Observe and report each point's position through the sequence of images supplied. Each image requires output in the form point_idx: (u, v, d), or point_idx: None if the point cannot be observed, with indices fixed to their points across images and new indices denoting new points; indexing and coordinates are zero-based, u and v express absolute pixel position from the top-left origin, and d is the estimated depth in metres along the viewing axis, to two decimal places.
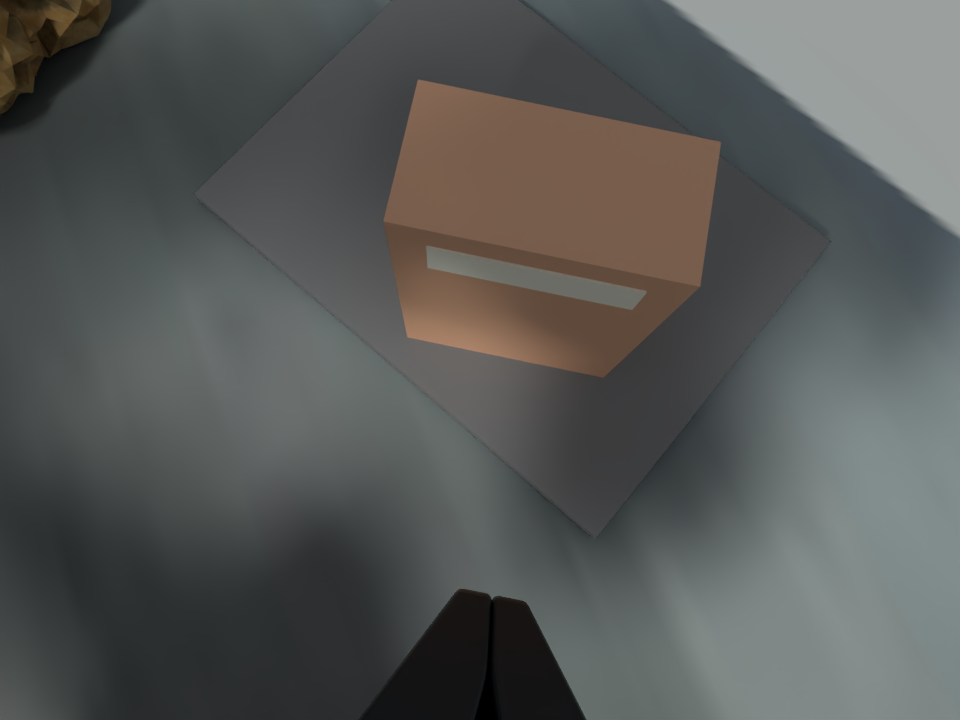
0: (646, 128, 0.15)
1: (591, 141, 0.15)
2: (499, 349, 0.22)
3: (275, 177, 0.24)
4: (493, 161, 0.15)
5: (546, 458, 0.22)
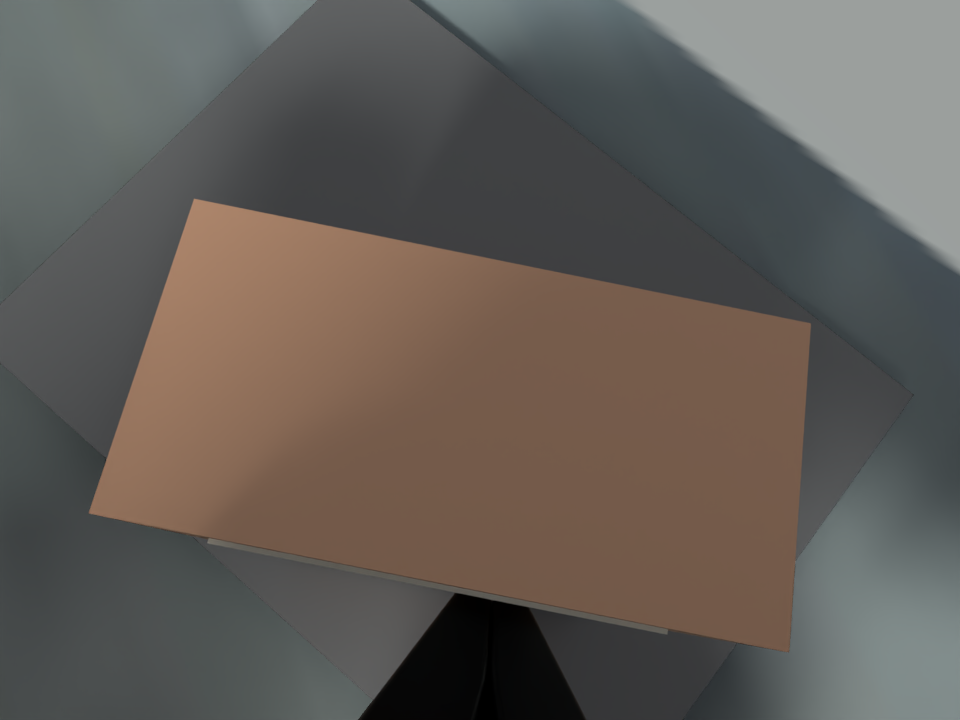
0: (659, 295, 0.07)
1: (548, 326, 0.07)
2: None
3: (94, 308, 0.16)
4: (342, 371, 0.07)
5: None
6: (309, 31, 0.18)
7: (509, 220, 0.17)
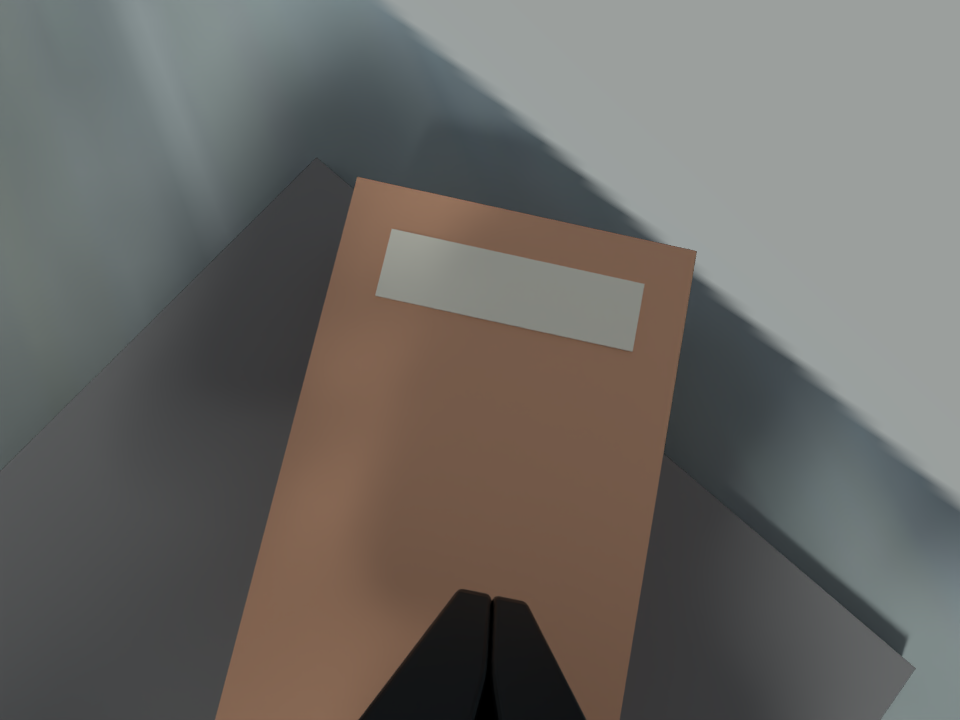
0: None
1: None
2: None
3: (13, 565, 0.15)
4: None
5: None
6: (259, 240, 0.16)
7: None
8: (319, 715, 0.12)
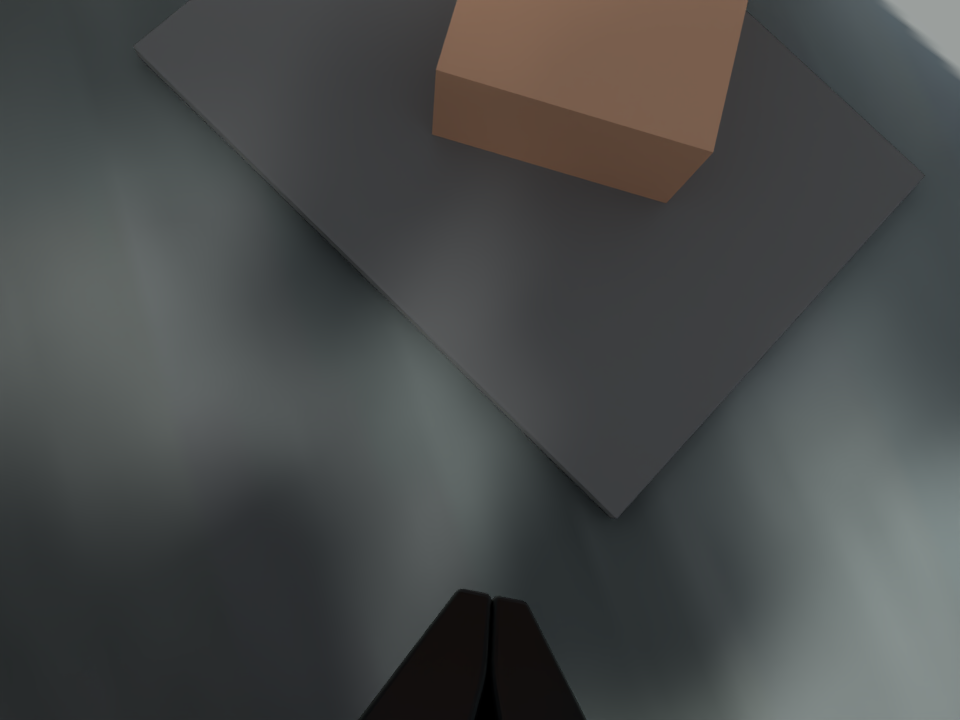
0: None
1: None
2: (574, 71, 0.16)
3: (241, 35, 0.19)
4: None
5: (561, 415, 0.18)
6: None
7: None
8: (511, 71, 0.16)
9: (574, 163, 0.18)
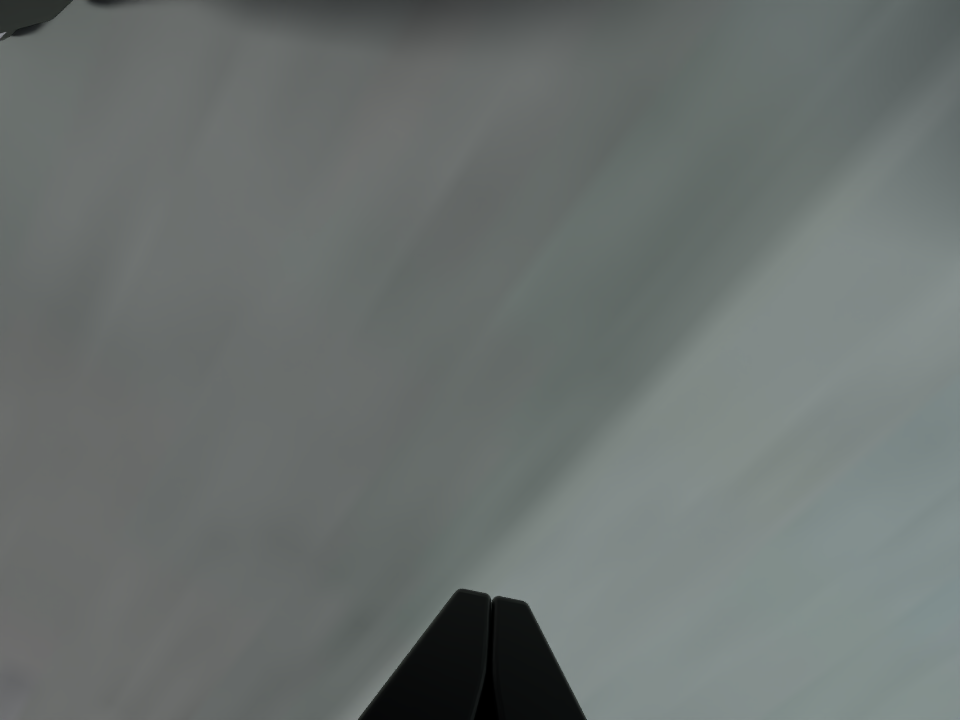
0: None
1: None
2: None
3: None
4: None
5: None
6: None
7: None
8: None
9: None
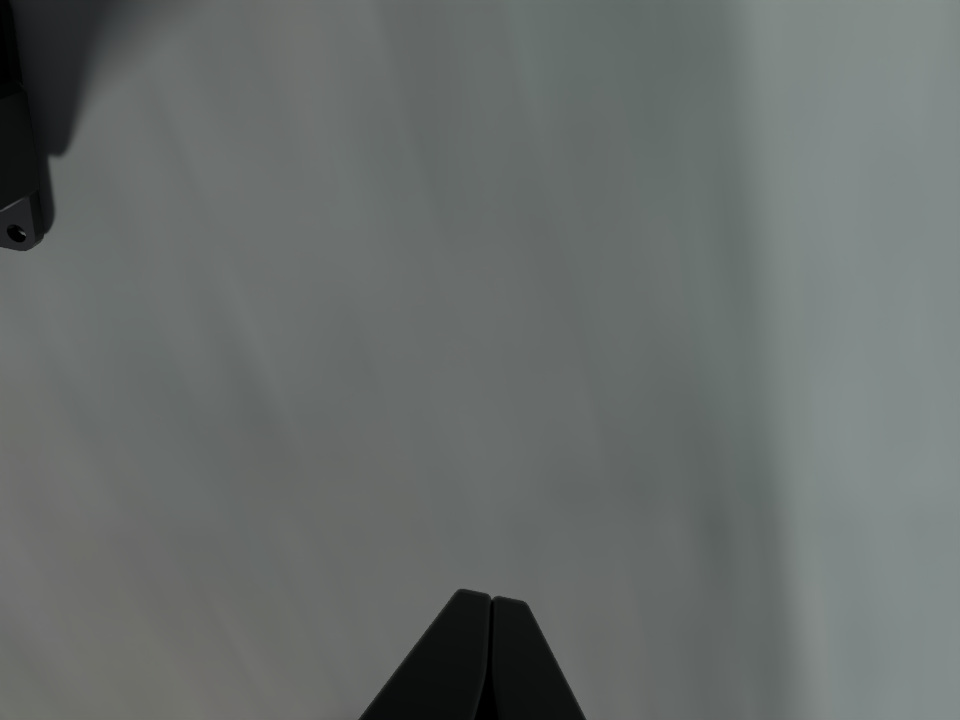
0: None
1: None
2: None
3: None
4: None
5: None
6: None
7: None
8: None
9: None
